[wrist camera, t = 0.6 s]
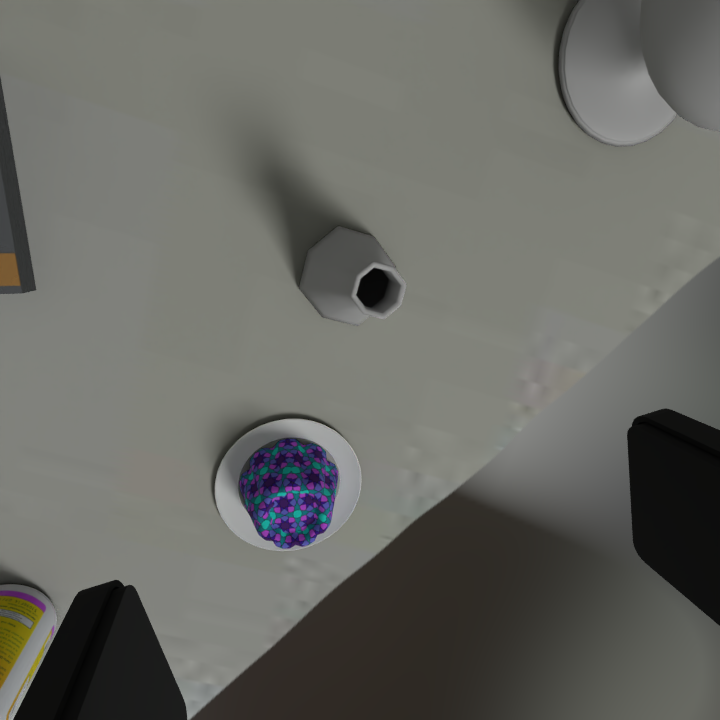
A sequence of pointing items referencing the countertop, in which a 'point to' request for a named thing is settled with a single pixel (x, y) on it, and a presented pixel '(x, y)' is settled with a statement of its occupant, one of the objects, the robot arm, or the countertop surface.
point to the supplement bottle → (21, 640)
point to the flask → (351, 278)
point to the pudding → (288, 485)
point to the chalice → (641, 67)
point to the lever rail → (12, 220)
